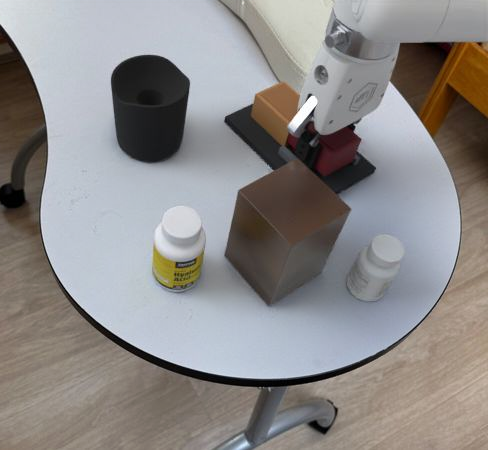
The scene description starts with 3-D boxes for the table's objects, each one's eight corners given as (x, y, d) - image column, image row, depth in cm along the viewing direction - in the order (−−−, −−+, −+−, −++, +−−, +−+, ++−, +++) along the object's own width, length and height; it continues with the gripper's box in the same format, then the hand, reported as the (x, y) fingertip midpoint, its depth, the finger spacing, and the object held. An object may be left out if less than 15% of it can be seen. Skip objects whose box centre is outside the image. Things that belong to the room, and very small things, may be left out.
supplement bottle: (172, 302, 63) (176, 253, 56) (142, 268, 66) (142, 215, 58) (210, 276, 66) (219, 225, 58) (180, 244, 68) (185, 191, 60)
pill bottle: (384, 273, 68) (408, 234, 61) (384, 306, 65) (410, 269, 59) (346, 265, 68) (366, 226, 62) (344, 298, 65) (366, 260, 59)
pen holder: (188, 118, 80) (193, 59, 72) (181, 169, 75) (185, 111, 67) (120, 110, 80) (118, 50, 72) (108, 161, 75) (104, 102, 67)
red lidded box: (352, 161, 75) (362, 138, 71) (324, 177, 73) (333, 154, 69) (315, 127, 78) (323, 104, 74) (287, 142, 76) (294, 119, 72)
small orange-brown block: (311, 133, 79) (319, 110, 75) (284, 148, 77) (290, 125, 74) (278, 103, 82) (283, 79, 79) (250, 116, 80) (255, 92, 77)
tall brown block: (321, 272, 67) (352, 208, 57) (268, 307, 64) (291, 246, 54) (276, 225, 71) (297, 157, 61) (223, 255, 67) (237, 189, 58)
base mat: (374, 173, 77) (379, 161, 75) (313, 209, 72) (317, 198, 71) (283, 93, 85) (287, 81, 83) (224, 121, 80) (226, 109, 79)
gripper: (330, 78, 55) (290, 198, 70) (445, 23, 62) (387, 143, 77) (278, 36, 59) (250, 159, 73) (393, -13, 65) (346, 109, 80)
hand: (320, 149), depth 75 cm, fingers closed on red lidded box, 5 cm apart
